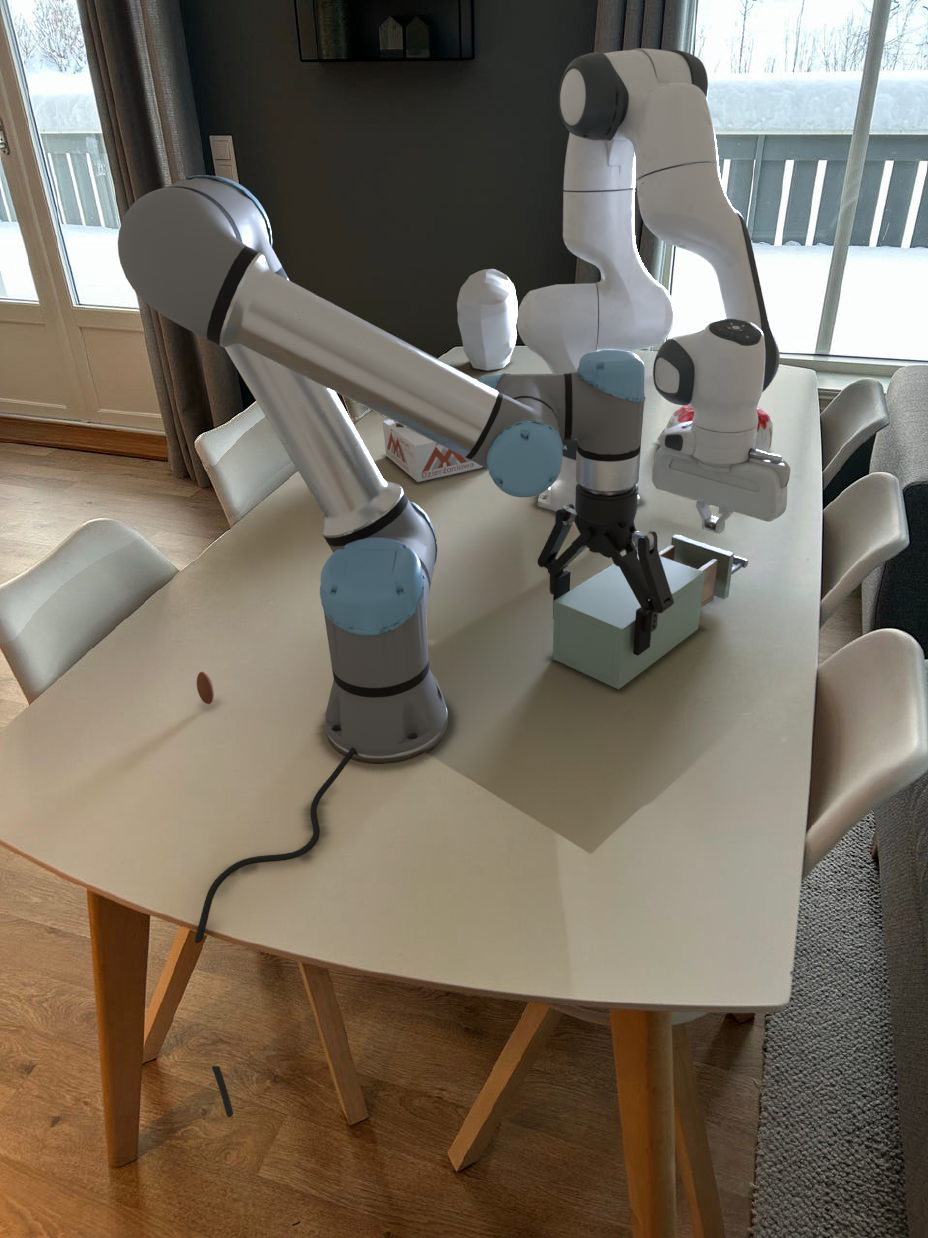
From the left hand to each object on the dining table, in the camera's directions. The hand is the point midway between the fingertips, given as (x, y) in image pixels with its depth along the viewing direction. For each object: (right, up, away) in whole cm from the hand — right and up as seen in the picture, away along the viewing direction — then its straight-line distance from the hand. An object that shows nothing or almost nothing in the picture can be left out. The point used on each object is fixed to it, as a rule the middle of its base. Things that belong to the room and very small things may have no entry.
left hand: (600, 632), depth 121 cm
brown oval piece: (-52, -9, -2) cm, 52 cm away
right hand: (+19, +15, +14) cm, 28 cm away
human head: (-11, +71, +125) cm, 144 cm away
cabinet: (+5, -2, +7) cm, 8 cm away
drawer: (+14, +4, +14) cm, 20 cm away
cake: (+34, +37, +68) cm, 84 cm away
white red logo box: (-23, +35, +68) cm, 80 cm away
